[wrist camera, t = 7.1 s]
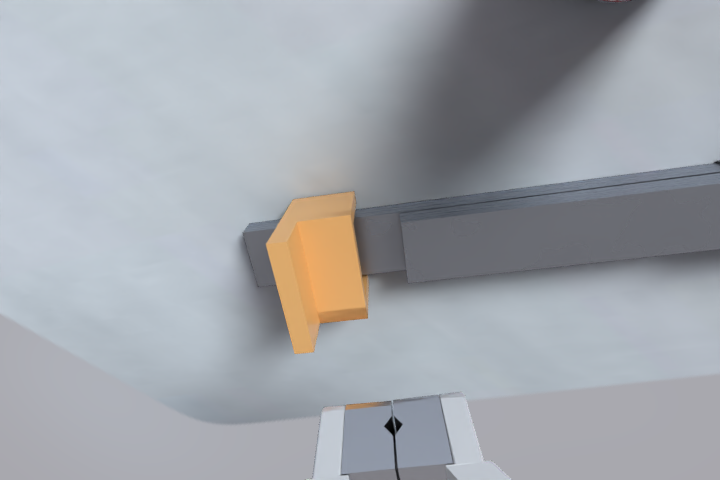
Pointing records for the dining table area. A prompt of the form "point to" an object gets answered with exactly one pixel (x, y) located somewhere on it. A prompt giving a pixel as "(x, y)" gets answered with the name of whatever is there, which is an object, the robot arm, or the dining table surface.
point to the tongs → (383, 224)
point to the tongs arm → (563, 229)
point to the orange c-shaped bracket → (318, 266)
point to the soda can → (614, 0)
